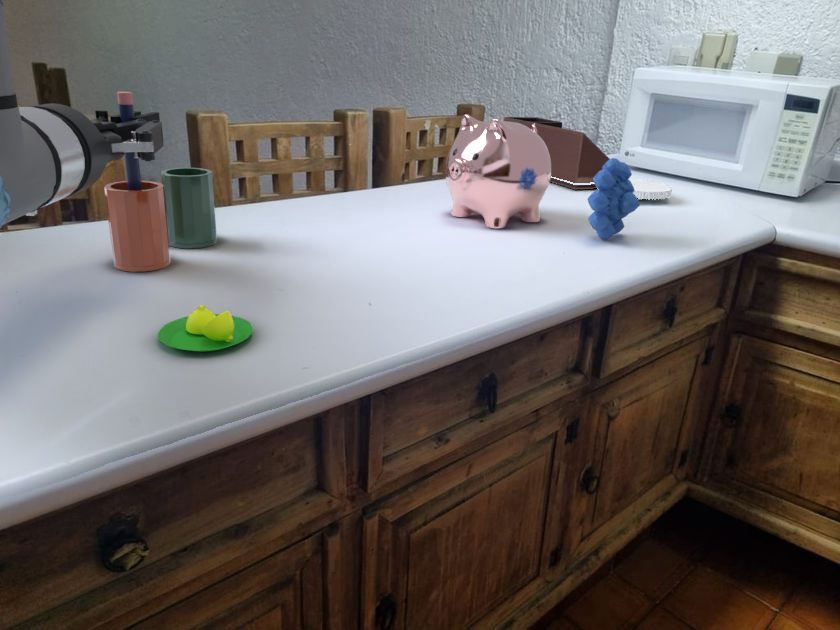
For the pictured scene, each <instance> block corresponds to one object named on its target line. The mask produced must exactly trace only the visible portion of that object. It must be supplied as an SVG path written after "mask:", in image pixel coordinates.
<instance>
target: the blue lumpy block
mask: <svg viewBox="0 0 840 630" xmlns="http://www.w3.org/2000/svg"><path fill="white" fill-rule="evenodd" d="M609 159H610V160H608V161H607V162H606V163H605V164H604V165H603V167H602V169H603V170H601V171H599V172H598V173H597V174H596V175H595V176H594V178H593V181H594V183H595V185H596V187H597V189H599V190H597V189H596V190H595V191H593V192H592V193H591V194H590V195H589V196H588V197H587V202H588V205H589V207H590V209H591V210H592V211H594V212H592V213H591V214H590V215H589V216H588V217H587V219H588V222H589V225H590V226H591V228H592V229H593V230H594V231H595V232H596V235H597V236H598V238H599V239H601V240H608V239H610V238H612V237H613V236H614V235H616V234H618V233H620V232H621V231H622V230H623V229H624V228H625V224H624V222H623V220H622V219H624V218H625V217H627V216H629V215H630V214H632V213H633V212H635V211H636V210H637V209H638V208H639V207H640V202H639V199H637V198H636V196H635V195H634V194H633V192H634V191H635V190H634V187H633V185H632V183H631V181H630V180H629V178H631V177H632V175H633V174H632V170H631V169H630V167H629V166H628V164H627V163H625V162H624V161H620V160H619V159H618V158H615V157H612V158H609Z"/></svg>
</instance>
